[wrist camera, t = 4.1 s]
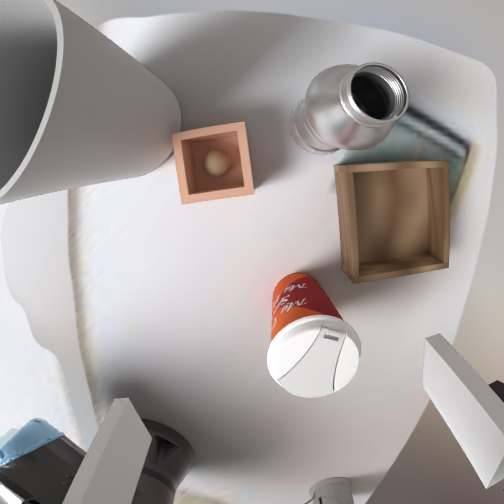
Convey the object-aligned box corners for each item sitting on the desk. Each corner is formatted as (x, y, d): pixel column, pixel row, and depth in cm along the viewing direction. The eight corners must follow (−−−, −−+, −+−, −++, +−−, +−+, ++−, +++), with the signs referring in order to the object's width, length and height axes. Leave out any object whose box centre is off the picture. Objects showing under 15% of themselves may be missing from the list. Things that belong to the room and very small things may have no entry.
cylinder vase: (127, 59, 32) (-7, -28, 8) (205, 111, 34) (115, 27, 10) (71, 142, 35) (-92, 145, 11) (141, 198, 37) (-9, 258, 13)
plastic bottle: (343, 157, 35) (432, 156, 16) (285, 153, 35) (319, 142, 16) (345, 103, 33) (429, 53, 14) (286, 98, 33) (319, 31, 14)
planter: (193, 197, 37) (181, 204, 31) (184, 137, 35) (171, 133, 29) (254, 189, 36) (254, 194, 30) (246, 128, 34) (244, 121, 29)
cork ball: (207, 178, 35) (202, 179, 32) (203, 151, 35) (198, 150, 32) (233, 174, 35) (232, 175, 32) (230, 147, 34) (227, 146, 32)
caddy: (341, 268, 39) (353, 283, 34) (333, 165, 35) (345, 166, 31) (429, 255, 38) (448, 267, 33) (426, 160, 35) (447, 161, 30)
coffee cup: (276, 255, 38) (288, 311, 24) (339, 275, 39) (381, 336, 24) (254, 316, 40) (253, 393, 26) (314, 332, 41) (338, 410, 27)
